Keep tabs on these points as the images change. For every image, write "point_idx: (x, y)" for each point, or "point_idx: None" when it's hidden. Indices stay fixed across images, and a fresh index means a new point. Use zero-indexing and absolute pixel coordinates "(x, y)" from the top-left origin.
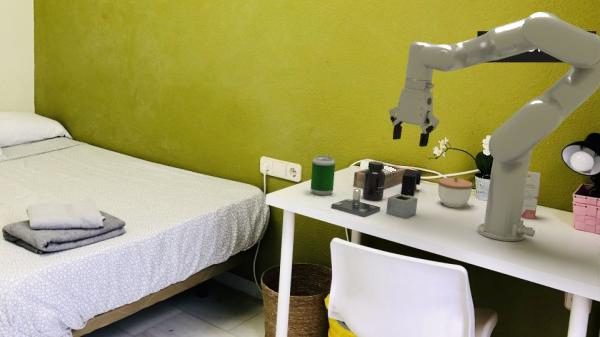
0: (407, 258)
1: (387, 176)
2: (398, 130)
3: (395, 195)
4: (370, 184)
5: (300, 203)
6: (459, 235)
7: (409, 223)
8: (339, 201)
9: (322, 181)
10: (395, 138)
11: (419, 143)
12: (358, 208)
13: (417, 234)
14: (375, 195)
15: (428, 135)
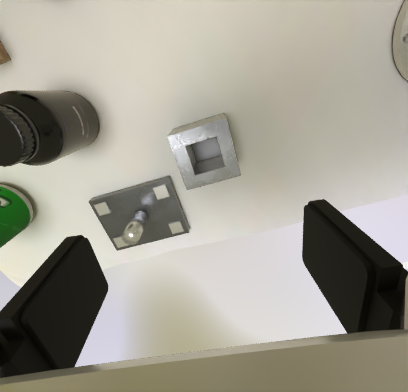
0: None
1: None
2: (69, 322)
3: (178, 157)
4: (68, 154)
5: None
6: (373, 137)
7: (261, 176)
8: (104, 228)
9: (11, 236)
10: (104, 286)
11: (311, 272)
12: (158, 224)
13: None
14: (92, 136)
15: (402, 277)
